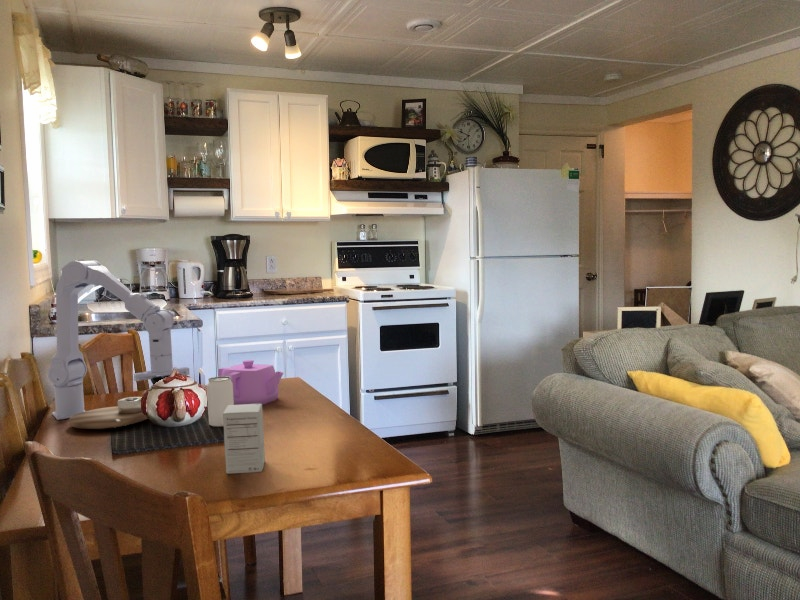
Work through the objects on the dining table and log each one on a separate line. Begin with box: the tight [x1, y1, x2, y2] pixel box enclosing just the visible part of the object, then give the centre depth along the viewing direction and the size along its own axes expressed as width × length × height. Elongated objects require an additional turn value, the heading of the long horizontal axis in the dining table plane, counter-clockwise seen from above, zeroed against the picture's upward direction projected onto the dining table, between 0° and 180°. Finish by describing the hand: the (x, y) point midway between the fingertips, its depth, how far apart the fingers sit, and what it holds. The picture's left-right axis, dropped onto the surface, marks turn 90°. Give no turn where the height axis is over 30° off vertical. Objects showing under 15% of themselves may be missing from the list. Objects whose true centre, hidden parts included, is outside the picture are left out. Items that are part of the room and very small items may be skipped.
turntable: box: [68, 405, 148, 430], centre depth 188 cm, size 20×20×1 cm
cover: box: [117, 396, 143, 414], centre depth 191 cm, size 7×7×3 cm
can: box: [206, 376, 234, 428], centre depth 184 cm, size 6×6×12 cm
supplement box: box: [223, 404, 266, 474], centre depth 146 cm, size 7×7×13 cm
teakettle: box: [217, 359, 284, 406], centre depth 210 cm, size 17×17×12 cm
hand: (163, 403), depth 195 cm, fingers closed
